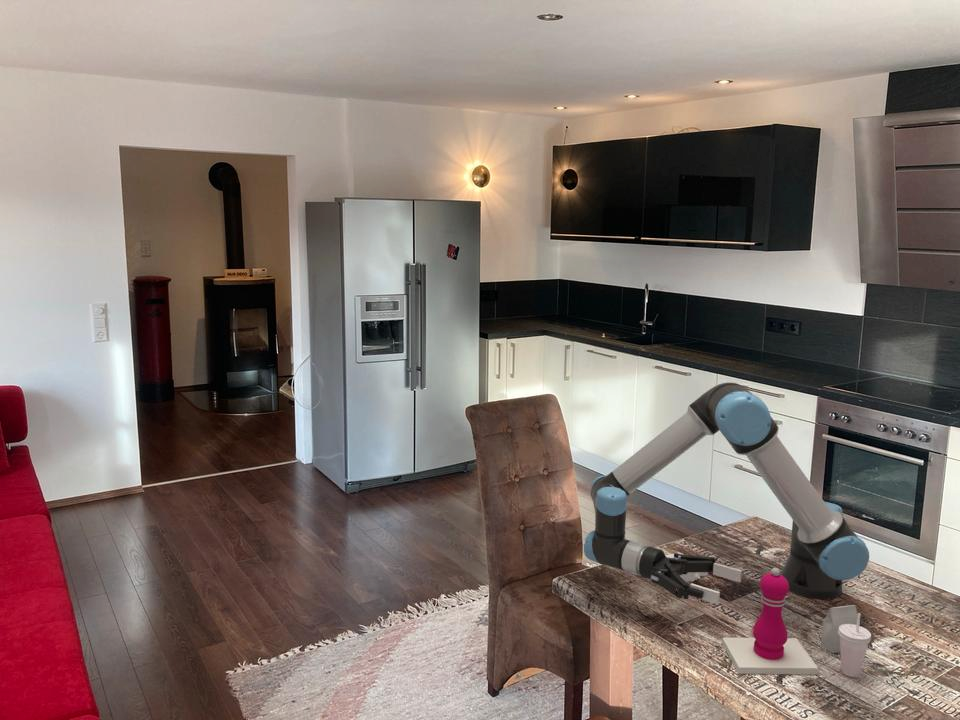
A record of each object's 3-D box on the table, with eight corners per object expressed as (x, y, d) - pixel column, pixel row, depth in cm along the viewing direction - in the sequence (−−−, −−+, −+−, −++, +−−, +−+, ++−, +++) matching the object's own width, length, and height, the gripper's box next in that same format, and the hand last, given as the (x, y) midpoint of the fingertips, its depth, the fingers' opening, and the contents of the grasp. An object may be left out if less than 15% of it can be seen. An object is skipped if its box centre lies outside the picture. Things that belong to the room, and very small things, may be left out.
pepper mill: (788, 663, 169) (796, 577, 165) (753, 659, 170) (760, 573, 167) (782, 645, 176) (790, 562, 172) (749, 641, 177) (756, 559, 173)
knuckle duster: (685, 558, 225) (718, 580, 211) (632, 568, 218) (662, 591, 205) (686, 547, 224) (719, 569, 211) (632, 557, 217) (663, 579, 204)
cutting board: (795, 644, 179) (796, 638, 179) (817, 674, 167) (818, 668, 167) (721, 643, 179) (722, 637, 179) (738, 673, 167) (739, 667, 167)
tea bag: (857, 649, 177) (861, 609, 175) (831, 653, 176) (835, 612, 174) (845, 641, 181) (849, 601, 179) (820, 644, 179) (824, 604, 177)
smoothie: (853, 684, 164) (860, 622, 161) (827, 668, 170) (833, 609, 167) (873, 676, 167) (880, 615, 164) (847, 661, 173) (853, 602, 170)
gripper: (665, 558, 200) (748, 582, 187) (619, 594, 180) (707, 624, 168) (667, 530, 198) (750, 553, 185) (620, 564, 179) (709, 592, 166)
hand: (730, 587), depth 176 cm, fingers open, 13 cm apart
